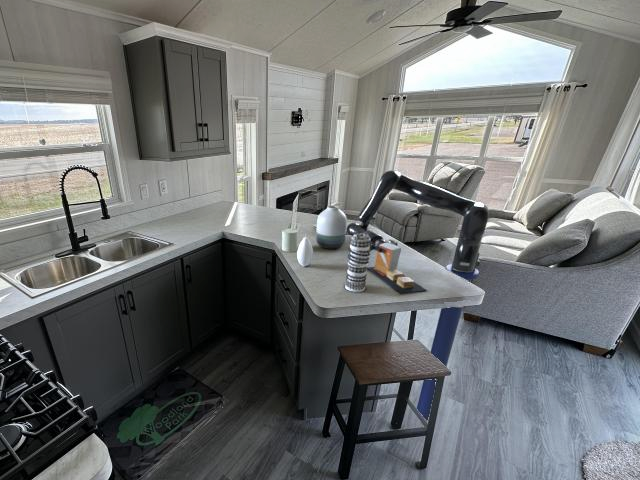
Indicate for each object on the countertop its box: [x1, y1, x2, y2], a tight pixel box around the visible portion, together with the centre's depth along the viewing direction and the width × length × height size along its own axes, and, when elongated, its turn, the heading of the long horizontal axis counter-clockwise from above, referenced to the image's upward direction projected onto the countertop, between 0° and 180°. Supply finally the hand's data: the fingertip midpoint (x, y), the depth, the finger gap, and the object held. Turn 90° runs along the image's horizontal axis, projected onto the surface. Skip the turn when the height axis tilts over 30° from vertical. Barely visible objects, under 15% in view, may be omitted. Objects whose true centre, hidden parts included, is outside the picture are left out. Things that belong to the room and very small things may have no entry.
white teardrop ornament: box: [296, 235, 314, 267], centre depth 168 cm, size 8×8×18 cm
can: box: [281, 227, 299, 253], centre depth 193 cm, size 9×9×12 cm
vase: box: [315, 205, 348, 250], centre depth 193 cm, size 17×17×24 cm
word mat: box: [366, 266, 427, 295], centre depth 154 cm, size 12×28×1 cm, turn 10°
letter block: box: [397, 276, 416, 288], centre depth 146 cm, size 5×5×3 cm
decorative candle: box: [345, 233, 372, 293], centre depth 142 cm, size 9×9×25 cm
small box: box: [373, 243, 402, 274], centre depth 158 cm, size 8×6×13 cm
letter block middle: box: [387, 269, 404, 281], centre depth 153 cm, size 5×5×3 cm
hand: (390, 249), depth 155 cm, fingers open, 8 cm apart
